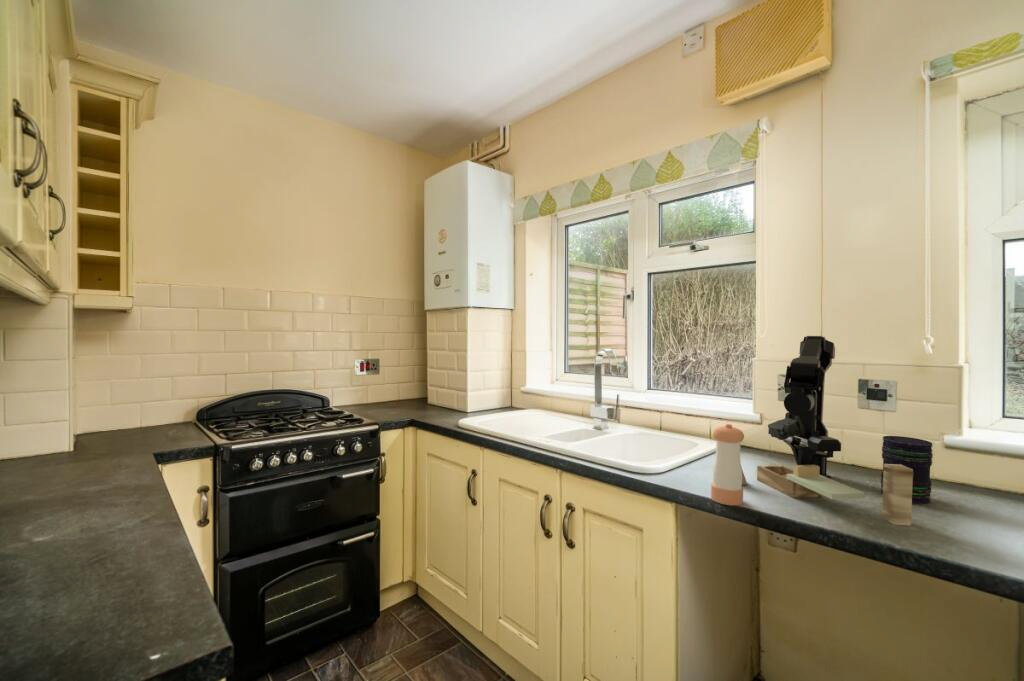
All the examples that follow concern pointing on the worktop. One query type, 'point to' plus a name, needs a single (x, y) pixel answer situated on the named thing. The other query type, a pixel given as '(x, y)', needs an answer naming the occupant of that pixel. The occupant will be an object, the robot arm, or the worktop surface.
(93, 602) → the worktop surface
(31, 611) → the worktop surface
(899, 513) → the brown box
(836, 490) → the lid
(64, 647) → the worktop surface
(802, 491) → the wooden box tray
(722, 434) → the pepper shaker
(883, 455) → the storage jar
